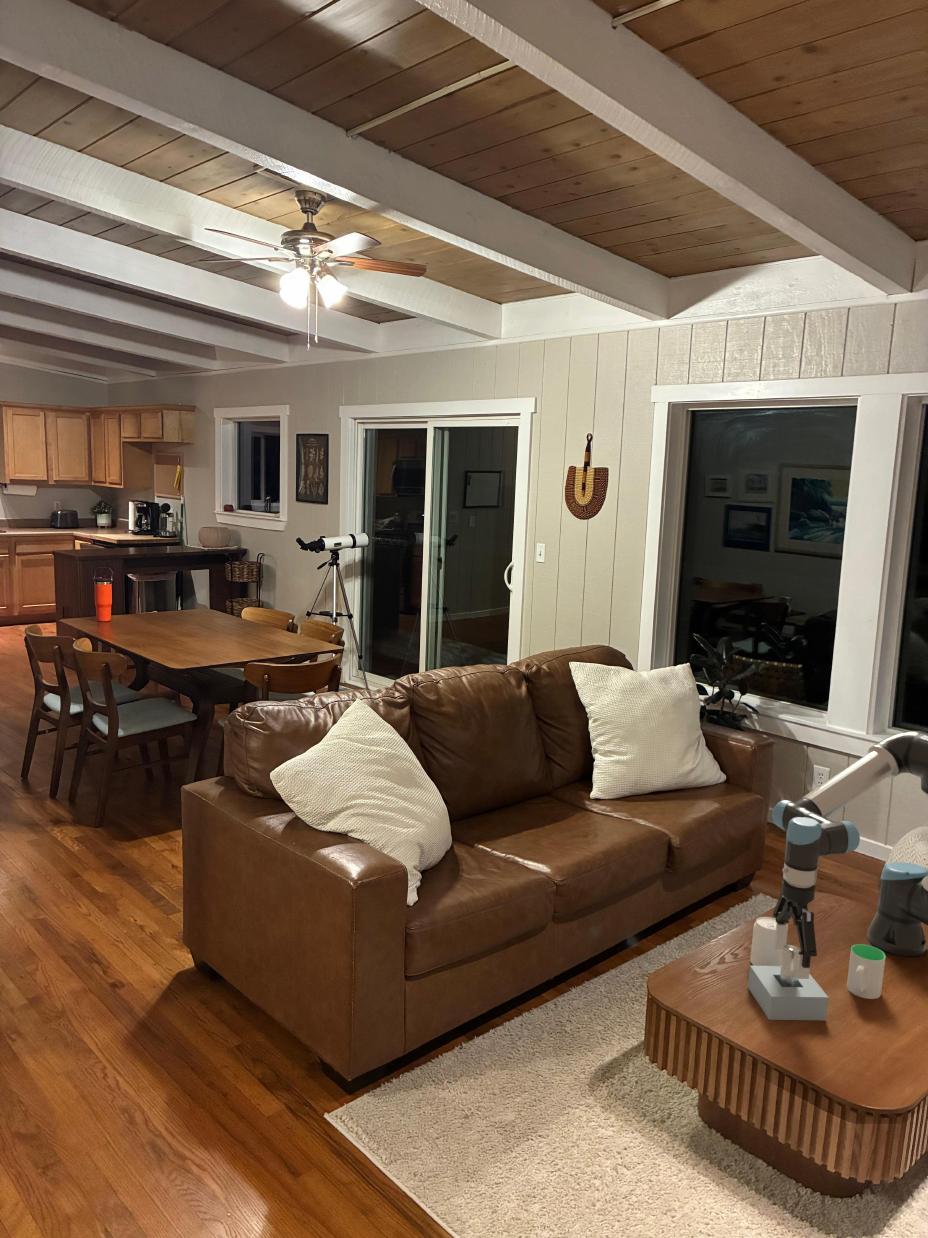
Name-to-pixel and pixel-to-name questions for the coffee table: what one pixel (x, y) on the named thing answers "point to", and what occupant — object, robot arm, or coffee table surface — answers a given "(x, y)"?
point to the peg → (789, 966)
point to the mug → (866, 971)
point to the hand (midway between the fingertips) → (791, 963)
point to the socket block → (787, 996)
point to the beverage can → (765, 943)
